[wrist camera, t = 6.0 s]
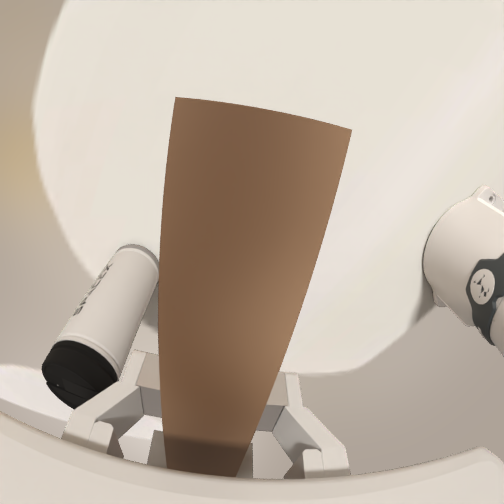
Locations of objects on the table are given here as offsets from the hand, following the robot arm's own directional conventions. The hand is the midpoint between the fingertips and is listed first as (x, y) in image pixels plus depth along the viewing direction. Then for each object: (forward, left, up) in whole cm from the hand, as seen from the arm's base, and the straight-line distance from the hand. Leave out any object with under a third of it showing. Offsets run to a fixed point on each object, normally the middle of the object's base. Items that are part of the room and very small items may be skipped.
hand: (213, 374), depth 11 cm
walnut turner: (0, 0, -2) cm, 2 cm away
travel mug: (+10, +11, -24) cm, 28 cm away
